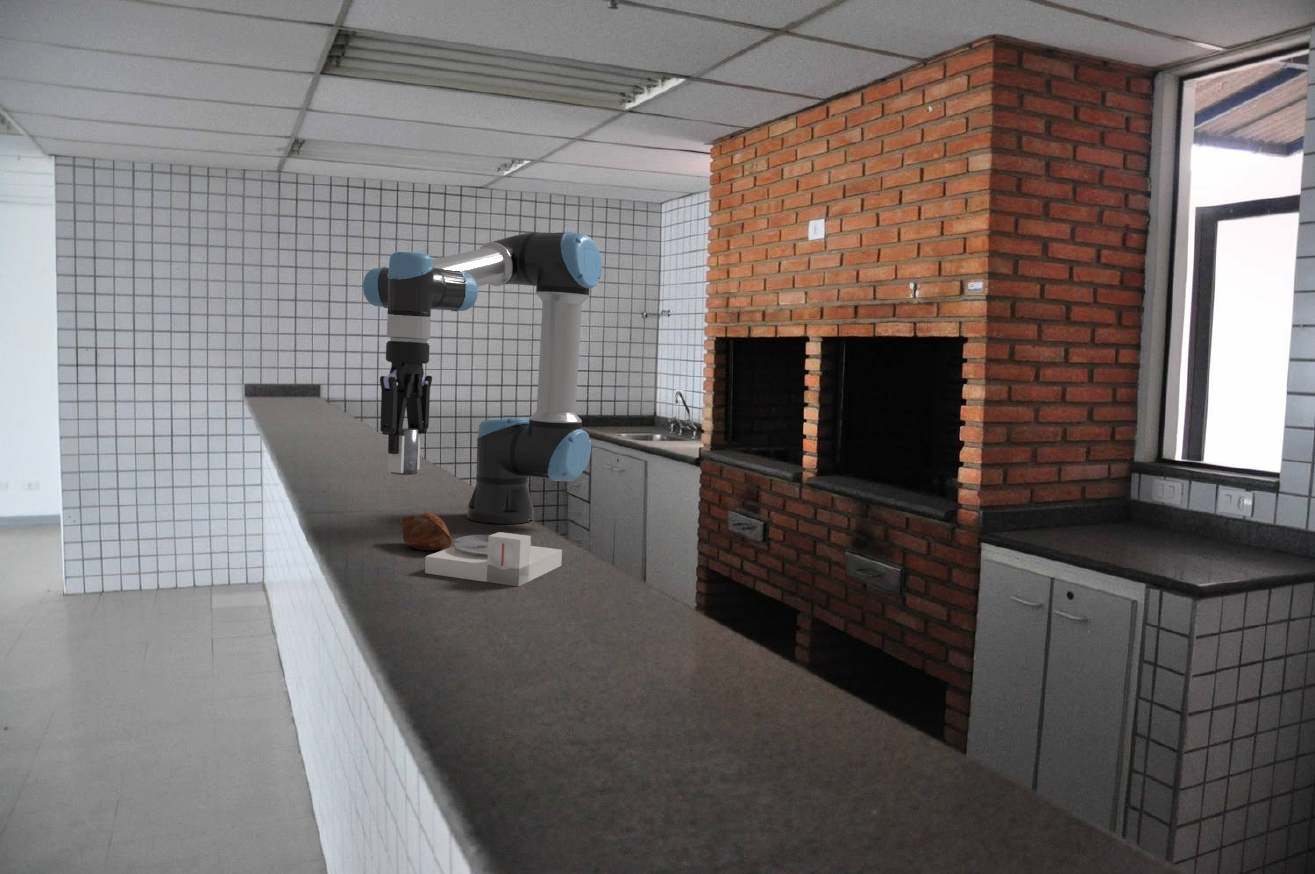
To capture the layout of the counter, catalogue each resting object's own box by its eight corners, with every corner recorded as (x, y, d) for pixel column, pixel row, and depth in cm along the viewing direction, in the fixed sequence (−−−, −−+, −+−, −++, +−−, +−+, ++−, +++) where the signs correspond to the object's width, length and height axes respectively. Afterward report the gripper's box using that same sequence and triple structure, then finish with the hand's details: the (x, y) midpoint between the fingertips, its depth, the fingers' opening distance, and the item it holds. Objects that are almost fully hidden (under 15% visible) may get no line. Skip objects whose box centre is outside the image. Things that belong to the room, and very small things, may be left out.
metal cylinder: (399, 470, 184) (401, 427, 183) (421, 473, 182) (423, 429, 181) (385, 473, 179) (386, 428, 179) (407, 475, 178) (409, 430, 177)
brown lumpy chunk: (462, 538, 190) (435, 492, 190) (422, 560, 186) (395, 514, 186) (450, 548, 201) (425, 505, 201) (413, 569, 197) (388, 526, 198)
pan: (476, 539, 191) (476, 531, 191) (543, 548, 187) (544, 540, 187) (438, 552, 178) (438, 544, 178) (509, 562, 174) (510, 554, 174)
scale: (474, 554, 192) (476, 512, 191) (561, 565, 187) (563, 523, 186) (423, 573, 175) (425, 528, 174) (517, 587, 169) (519, 540, 168)
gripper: (416, 340, 188) (412, 463, 190) (360, 338, 171) (356, 473, 173) (451, 342, 186) (447, 467, 188) (398, 340, 169) (394, 477, 171)
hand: (403, 470), depth 181 cm, fingers closed on metal cylinder, 5 cm apart
